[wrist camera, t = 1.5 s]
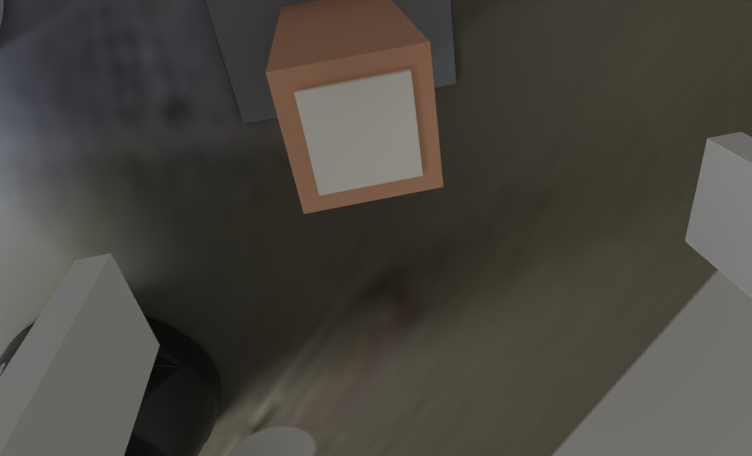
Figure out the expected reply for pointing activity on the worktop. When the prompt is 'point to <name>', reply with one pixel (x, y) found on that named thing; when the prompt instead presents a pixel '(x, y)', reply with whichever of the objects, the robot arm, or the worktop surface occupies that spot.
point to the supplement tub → (1, 11)
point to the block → (354, 102)
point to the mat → (256, 33)
